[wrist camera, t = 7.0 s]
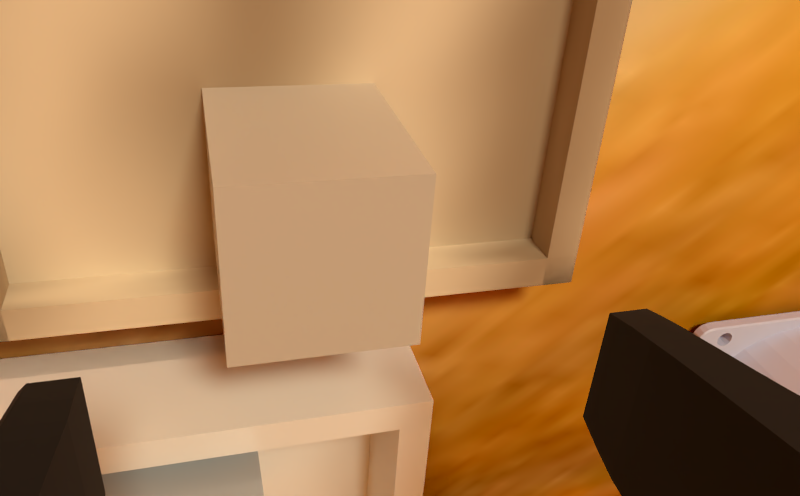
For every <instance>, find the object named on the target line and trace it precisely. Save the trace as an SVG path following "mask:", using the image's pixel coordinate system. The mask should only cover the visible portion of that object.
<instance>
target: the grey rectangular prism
mask: <svg viewBox="0 0 800 496" xmlns="http://www.w3.org/2000/svg"><path fill="white" fill-rule="evenodd" d="M102 479H103V484H104V488H105V496H264V493H263V486H262V478H261V471H260V464H259V456H258V451H255V452H248V453H241V454H235V455H228V456H221V457H215V458H208V459H202V460H195V461H188V462H182V463H175V464H168V465H162V466H155V467H149V468H142V469H135V470H129V471H122V472H115V473H109V474H102Z"/></svg>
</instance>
